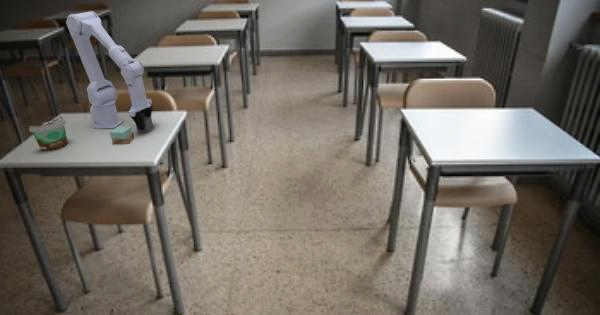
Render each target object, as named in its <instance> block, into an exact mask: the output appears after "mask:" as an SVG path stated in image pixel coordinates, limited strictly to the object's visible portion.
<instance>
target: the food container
mask: <svg viewBox="0 0 600 315" xmlns="http://www.w3.org/2000/svg"><path fill="white" fill-rule="evenodd" d="M65 125H66V120H65V118H64V117H63V116H62V115H59V118H56V119H53V120H47V121H44V122H43V123H40V124H37V125H29V132H30V133H32V135H33V137H34V139H35V141H36V142H37V145H38V147H39V150H40V151H43V152H50V151H56V150H59V149H62V148H65V147H66V146H67V145H68V143H69V142H68V137H67V133H66V132H67V131H66V127H65Z"/></svg>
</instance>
